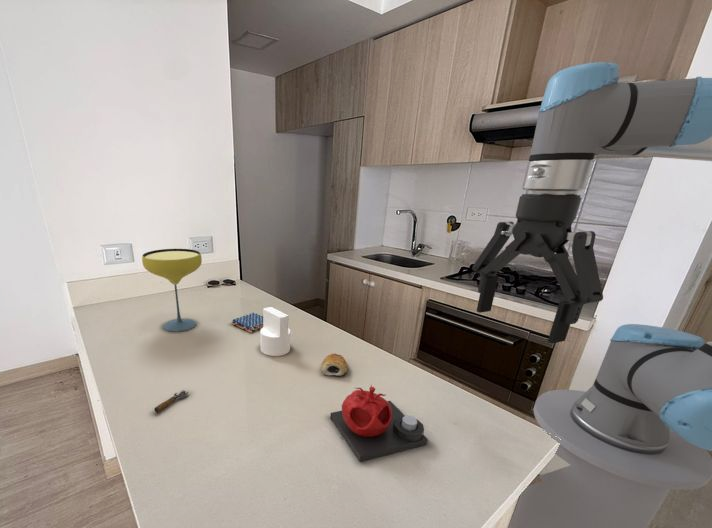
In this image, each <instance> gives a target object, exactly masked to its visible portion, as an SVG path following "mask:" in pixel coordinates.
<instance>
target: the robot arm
mask: <svg viewBox="0 0 712 528" xmlns="http://www.w3.org/2000/svg"><path fill="white" fill-rule="evenodd" d="M619 75H620V66H619V65H618V64H617V63H616V62H605V61H597V62H587V63H581V64H576V65H573V66H569V67H565V68H563V69H561V70H559V71H557V72H556V73H555V74H553V75H552V76H551V77H550V79H549V80H548V82H547V85H546V88H545V91H544V94H543V97H542V101H541V104H540V107H539V110H538V112H537V115H538V116H537V121H536V126H535V130H534V136H533V140H532V144H531V150H530V154H529V157H528V162H527V165H526V171H525V175H524V179H523V182H522V187H521V189H522V190H523V191H525V193H522V194H521V195H520V196H519V199H518V203H517V207H516V212H515V218H516V219H517V220H516V223H514V222H513V221H500V222H498V223H497V224H496V227H495V230H494V234H493V236H491V238H490V240H489V241H488V242H487V244H486V246H485V247H484V249H483V250H482V252H481V253H480V255H479V256H478V258H477V259H476V260H475V262H474V264H473V265H472V270H473V272H476V273H478V274H479V277H480V278H479V283H478V284H479V285H478V287H477V288H478V289H477V290H478V291H477V293H478V294H479V297H478V301H477V307H476V312H477V313H479V314H480V313H486V312H491V311H492V307H493V302H494V298H495V294H496V290H497V285H498V280H499V277H498V274H497V273H498V272H500V271H501V270H502V269H503V268H505V267H506V266H507V265H508V264H509V263H511V262H512V261H513V260H514V259H516V258H517V257H518V256H519V255H525V256H527V255H531V256H533V257H535V258H539V259H540V258H543V259H544V261H545V262H546V263H548V264H549V266H550V269H551V270H552V273H553V275H554V277H555V279H556V281H557V283H558V285H559V287H560V289H561V292H562V294H563V296H564V298H565V299H564V300H560V301H559V302H558V306H557V309H556V313H555V315H554V318H553V322H552V325H551V328H550V332H549V336H548V338H547V342H548V343H551V344H557V343H561V342H565V341H566V339H567V336H568V333H569V330H570V326H571V325H574V324H577V322H579V319H580V316H581V313H582V310H583V306H584V305H585V304H592V303H599V302H602V301H603V300H604V294H603V289H602V284H601V280H600V278H601V277H600V274H599V270H598V269H599V268H598V265H597V261H596V255H595V254H596V253H595V249H594V245H595V240H596V235H597V234H596V232H595V231H593V230H588V231H587V230H586V231H573V230H572V226H573V223H574V221H575V220H576V218H577V215H578V212H579V209H580V205H581V202H582V197H581V195H580V194H578V193H579V192H582V191H584V190H585V189H586V186H587V182H588V178H589V175H590V171H591V168H592V164H593V162H594V161H593V160H594V158H595V156H597V155H615V156H627V157H628V156H634V157H635V156H636V157H649V158H661V159H673V160H674V159H675V160H689V161H702V162H703V161H704V162H712V77H702V76H696V77H693V78H692V77H691V78H681V79H665V80H654V81H642V82H641V81H639V82H637V81H636V82H625V81H619V80H620V77H619ZM511 236H513V240H512V241H511V242H510V243H509V244H508V245H506V244H507V242H508V241H509V239H510V238H511ZM567 243H568V245H569V246H570V247H571V253H572V259H573V263H574V267H573V265H572V263H571V261H570V259H569V257H570V254H569V252H568V250H567V248H566V246H565V245H566V244H567ZM505 245H506V246H505ZM504 246H505V248H504ZM503 248H504V250H502V249H503ZM609 341H610V342H609V345H608V347H607V350H606V351H605V354H604V356H603V359H602V362H601V365H600V367H599V370H598V372H597V375H596V377H595V379H594V382H593V383H592V386H590V388H589V389H587V390H586V391H584V392H585V393H584V394H583V395H582V396H581V397H580V398H579V399H578V400H577V401H576V402H575V403H574V404H573V406H572V409H571V411H570V415H571V418H572V419H573V421H574V422H575V423H576V424H577V425H578V426H579V427H580V428H581V429H583V430H584V431H585V432H587V433H588V434H590V435H592V436H593V437H595V438H597V439H599V440H601V441H603V442H605V443H607V444H609V445H612V446H614V447H617V448H620V449H623V450H626V451H630V452H634V453H640V454H650V455H652V454H659V453H662V452H663V451H664V450H665V449H666V447H667V445H668V444H669V441H670V431H669V428H670V429H671V430H673V431H674V432H676V433H677V434H678V435H680V436H681V437H682V438H683V439H684V440H686V441H687V442H689V443H691V444H693V445H695V446H697V447H699V448H702V449H705V450H707V451H708V452H712V341H707V342H706V341H705V339H704V338H702V337H700V336H698V335H696V334H693V333H690V332H687V331H681V330H677V329H672V328H667V327H662V326H656V325H648V324H638V323H628V324H627V323H626V324H622V325H620V326H619V327H617V329H615V331H614V333H613V335H612V336H611V338H610V340H609Z"/></svg>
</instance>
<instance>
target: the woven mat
mask: <svg viewBox="0 0 712 528" xmlns="http://www.w3.org/2000/svg"><path fill="white" fill-rule="evenodd" d="M231 325H234V326H236V327H238V328H240V329H242V330H245V331H247V332H249V333H253V331H258V330H259V329H262V328H263V315H261V314H258V313H255V312H252V313H248V314H245V315H243V316H239V317H236V318H233V319H232V321H231Z"/></svg>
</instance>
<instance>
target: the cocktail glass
mask: <svg viewBox="0 0 712 528" xmlns="http://www.w3.org/2000/svg"><path fill="white" fill-rule="evenodd" d="M141 255H142V256H141V263H142V266H143V268H144V269H145V270H146V271H147V272H149V273H151V274H153V275H154V276H155V275H156V276H158V277H161V278H163V279H166V280H168V282H170V284H172V285H173V286H174V293H175V303H176V319H172V320H168V321H167V322H165V323H164V324H163V325H162V326H163V329H164V331H167V332H172V333H179V332H186V331H190V330H192V329H194V328H195V327H196V325H197V322H196V321H195V320H194V319H191V318H182V317H181V312H180V306H179V304H180V303H179V296H178V295H179V294H178V287H177V285H179V284H180V282H181V280H183V278H185V277H187V276H189V275H190V274H193V273H194V272H195V271H197V270H198V269H199V268H200V267H201V265H202V262H203V260H202V254H201V252H200V251H198V250H195V249H191V248H164V249H163V248H162V249H156V250H150V251H147V252H145V253H143V254H141Z"/></svg>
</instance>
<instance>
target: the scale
mask: <svg viewBox="0 0 712 528" xmlns="http://www.w3.org/2000/svg"><path fill="white" fill-rule="evenodd" d="M387 401H388V402H389V404H390V405H391V409H392V419H391V422H390V425H389V427H388V428H387V429H386V430H385V431H384V432H383V433H382V434H380V435H378V436H373V437H363V436H360V435H357V434H355V433H354V432H352V431H351V429H350V428H349V427H348V426H347V425H346V423H345V421H344V419H343V415H342V410H338V411H332V412H330V416H329V418H330V420H331V422H332V424H334V426H335V427H336V429H337V430H338V432H339V434H340V435H341V436H342V438H343V440H344V441H345V442H346V444H347V446H348V447H349V449H350V450H351V452H352V453H353V454H354V456H355V457H356V459H357V460H358V462H359V463H361V462H364V461H365V462H366V461H369V460H371V459H377V458H380V457H383V456H387V455H391V454H396V453H398V452H403V451H406V450H411V449H414V448H418V447H422V446H425V445H427V444H428V440H429V439H428V437H427V436H426V435H425V434H424V433H425V426H424V424H423V423H422V422H421V421H420V420H419V419H417V418H415V419H416V420H417V426H416V429H415V430H414V431H409V430H406V429H404V428H403V427H402V425H401V424H402V419H403V417H404V416H406V415H405V414H404V413H403V412H402V411H401V410H400V409H399V408H398V407H397V406H396V405H395V404H394V403H393V402H392V401H391V400H387Z"/></svg>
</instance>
